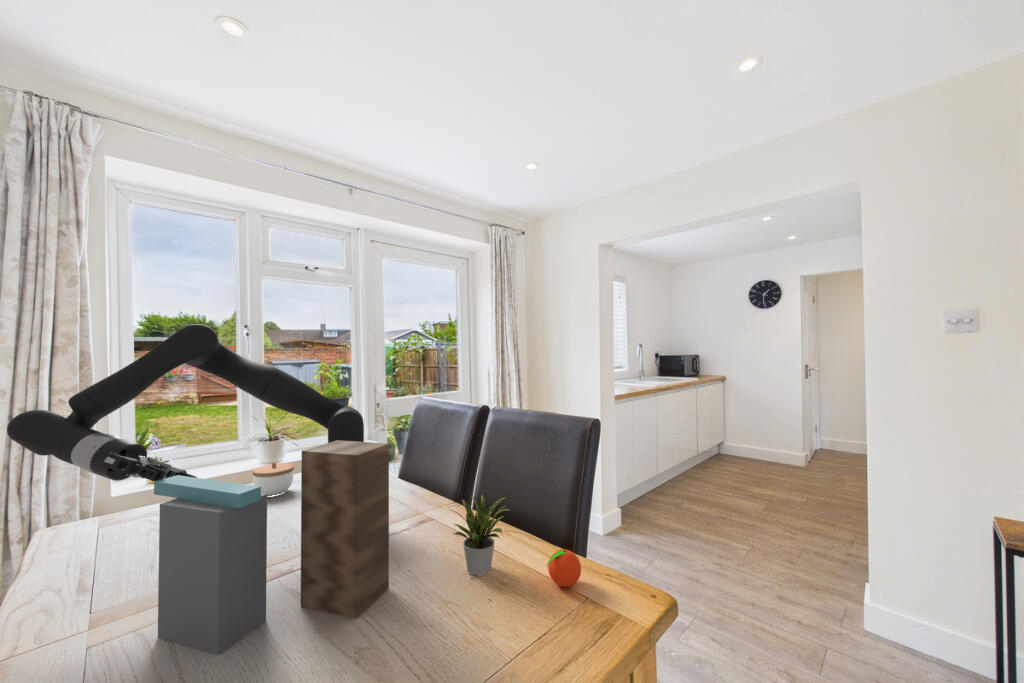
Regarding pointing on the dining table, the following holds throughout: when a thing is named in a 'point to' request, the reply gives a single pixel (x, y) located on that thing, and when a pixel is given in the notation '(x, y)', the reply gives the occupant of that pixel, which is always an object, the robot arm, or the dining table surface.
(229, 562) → the block
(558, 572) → the clementine
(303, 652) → the dining table surface
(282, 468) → the lidded bowl
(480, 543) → the house plant
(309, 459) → the stand
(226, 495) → the block
